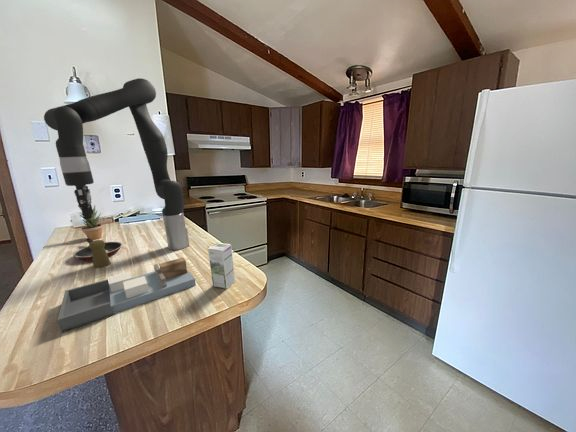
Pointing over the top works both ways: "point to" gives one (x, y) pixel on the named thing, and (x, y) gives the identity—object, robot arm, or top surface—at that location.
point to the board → (150, 290)
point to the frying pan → (87, 252)
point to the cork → (99, 254)
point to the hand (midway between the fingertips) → (89, 216)
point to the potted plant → (92, 226)
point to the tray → (85, 305)
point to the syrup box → (221, 265)
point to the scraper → (170, 270)
